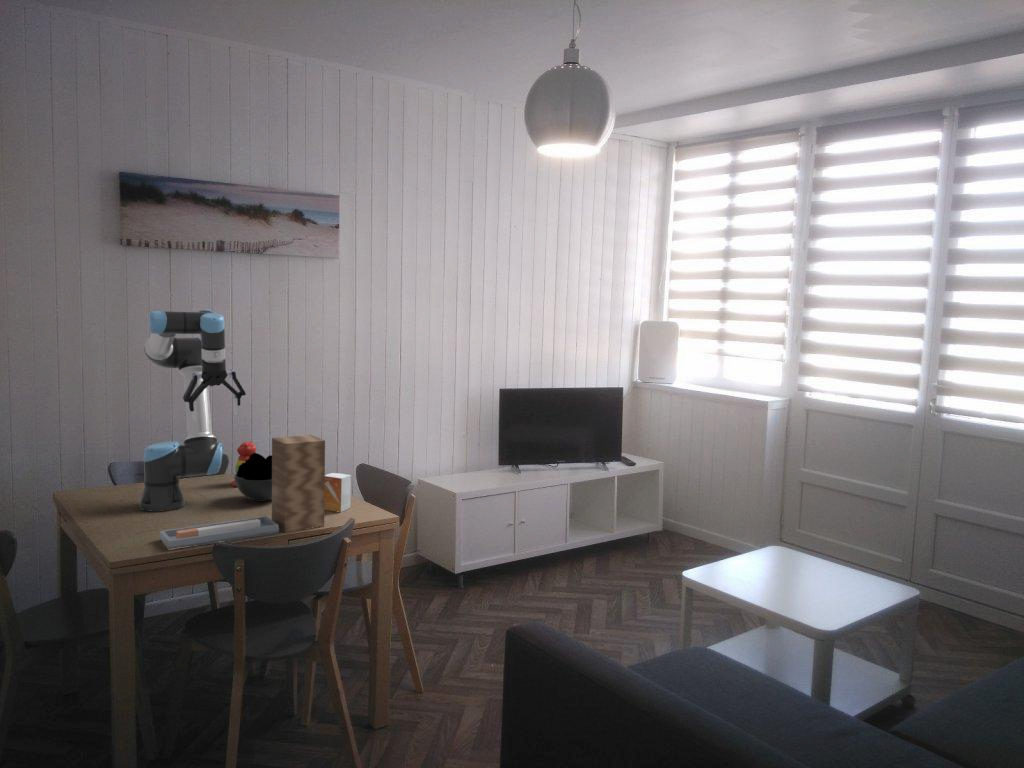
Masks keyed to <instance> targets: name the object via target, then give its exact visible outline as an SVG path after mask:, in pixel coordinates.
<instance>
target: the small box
mask: <svg viewBox="0 0 1024 768" xmlns="http://www.w3.org/2000/svg"><path fill="white" fill-rule="evenodd" d="M351 478H352V474H346V473H339V472H338V473H337V472H331V473H327V474H325V500H324V511H331V512H335V511H339V512H338V513H340V512H341V513H343V512H342V511H344V510H346V509H348V508H350V509H351V487H352V486H351V485H352V484H351V482H352V479H351ZM348 510H349V509H348ZM346 511H347V510H346ZM344 512H345V511H344Z"/></svg>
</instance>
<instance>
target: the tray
mask: <svg viewBox="0 0 1024 768" xmlns="http://www.w3.org/2000/svg"><path fill="white" fill-rule="evenodd" d="M254 519H258V520H260V527H254V528H248V529H241V530H234V531H228V532H221V533H215V534H208V535H201V536H195V537H188V538H181V539H176V531H180V530H186V529H193V528H202V527H208V526H215V525H221V524H228V523H234V522H241V521H248V520H254ZM279 530H280V529H279V525H278V524H277V523H275V522H274V521H272V518H269V517H268V516H267V515H263V516H262V515H261V516H257V517H256V516H255V517H249V518H241V519H235V520H229V521H221V522H214V523H213V522H212V523H207V524H201V525H200V524H199V525H191V526H186V527H179V528H172V529H165V530H159V540H160V539H161V540H162V541H163V542H164V543H165V544H166V546H168V548H169V549H171V548H177V547H185V546H194V545H203V546H208V545H207V544H210V545H215V544H214V543H215V542H218V541H228V542H230V541H229V540H235V541H238V540H237V539H241V540H245V539H244V538H247V539H251V538H250V537H254V538H258V537H257V536H260V537H264V536H265V535H266V536H272V534H273V535H277V534H279ZM228 542H227V543H228Z"/></svg>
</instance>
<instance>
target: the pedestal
mask: <svg viewBox="0 0 1024 768" xmlns="http://www.w3.org/2000/svg"><path fill="white" fill-rule="evenodd" d="M271 456H272V499H271V520H272V521H274V522H275V523H277V524H278V525H279V530H280V531H282V532H283V533H290V531H291V532H296V531H297V530H298V531H303V530H302V529H304V530H308V529H307V528H310V529H313V528H312V527H316V528H320V527H319V526H323V527H325V510H324V500H325V475H326V473H325V472H326V469H325V468H326V440H324V439H322V438H320V437H317V436H314V435H313V434H308V435H307V434H306V435H294V436H281V437H272V438H271Z"/></svg>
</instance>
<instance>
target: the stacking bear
mask: <svg viewBox="0 0 1024 768" xmlns="http://www.w3.org/2000/svg"><path fill="white" fill-rule="evenodd" d="M256 450H257V447H256V444H255V443H253V442H252V441H251V440H249V441H245V442H242V443H241V444H240V446H238V447H237V448H236V451H237V453H238V454H239V456H238V457H237V460H236V465H235V474H237V472H238V469H239V466H240V465H241V464H242V463H245V461H246V460H248V459H249V457H250V455H252V454H253V453H256V452H257V451H256ZM230 486H231V487H233V486H237V485H236V483H235V480H233V481H232V482H231V483H230Z"/></svg>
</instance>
